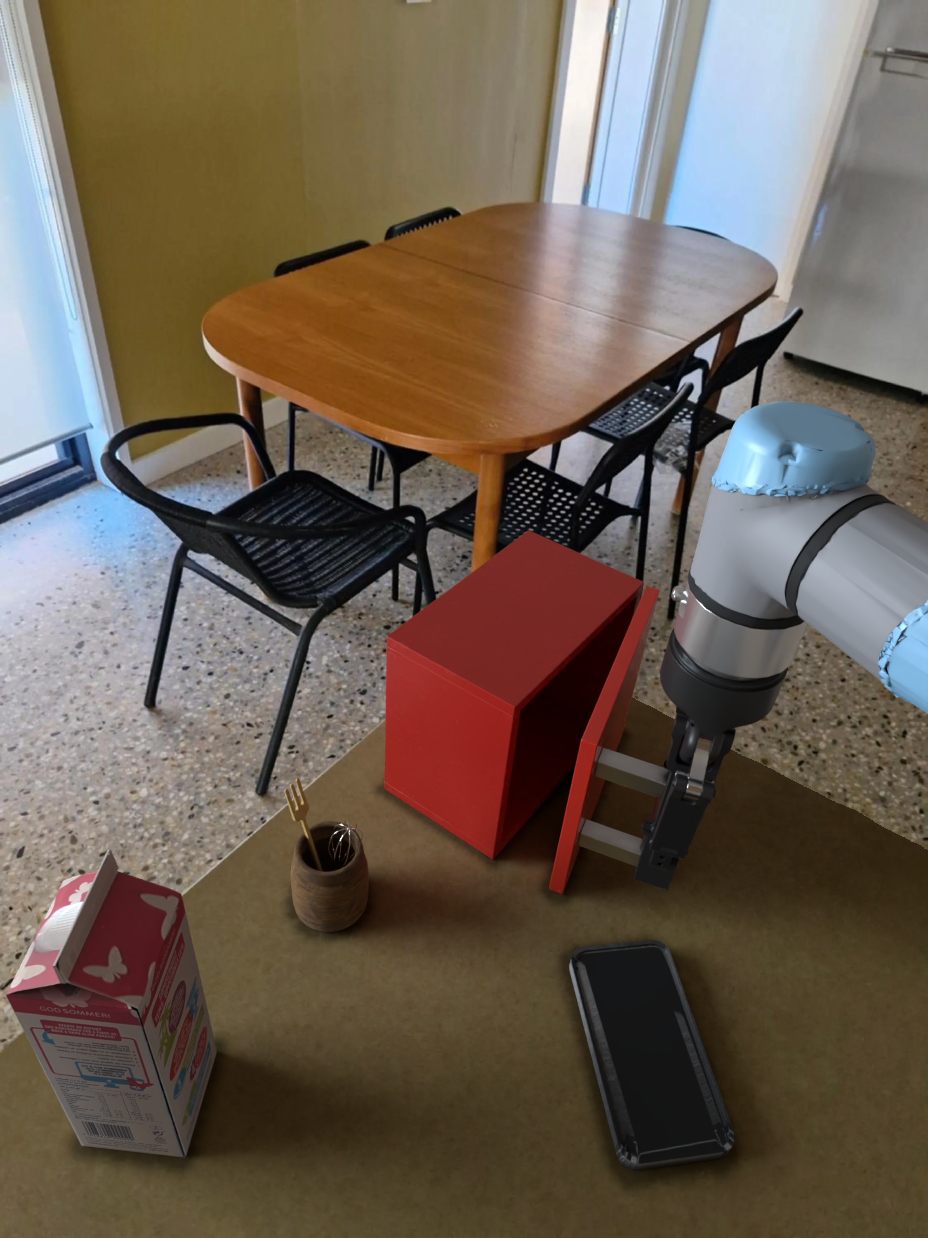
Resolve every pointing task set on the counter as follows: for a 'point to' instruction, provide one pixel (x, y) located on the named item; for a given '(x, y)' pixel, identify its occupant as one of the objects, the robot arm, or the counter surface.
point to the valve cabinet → (501, 686)
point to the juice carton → (118, 1012)
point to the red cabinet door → (609, 760)
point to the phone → (648, 1057)
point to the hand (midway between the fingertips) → (653, 868)
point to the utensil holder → (327, 871)
